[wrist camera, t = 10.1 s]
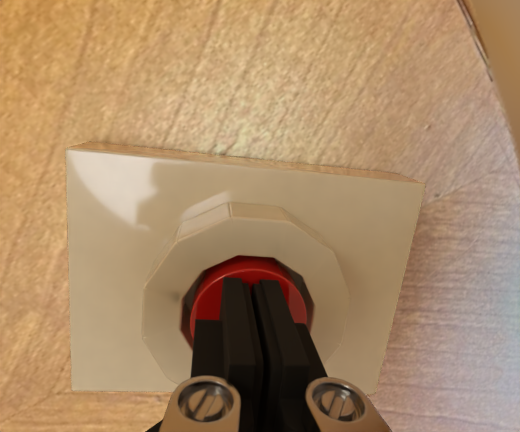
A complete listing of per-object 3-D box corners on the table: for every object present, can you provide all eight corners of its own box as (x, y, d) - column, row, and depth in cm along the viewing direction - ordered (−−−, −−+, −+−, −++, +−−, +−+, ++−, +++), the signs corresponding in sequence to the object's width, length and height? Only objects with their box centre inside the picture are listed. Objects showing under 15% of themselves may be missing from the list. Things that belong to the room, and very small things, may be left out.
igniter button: (302, 251, 13) (315, 273, 11) (288, 341, 14) (298, 374, 12) (196, 243, 12) (193, 265, 10) (189, 338, 13) (185, 371, 11)
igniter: (397, 173, 15) (460, 195, 11) (356, 360, 17) (396, 431, 14) (87, 140, 13) (36, 154, 9) (89, 354, 16) (49, 433, 12)
